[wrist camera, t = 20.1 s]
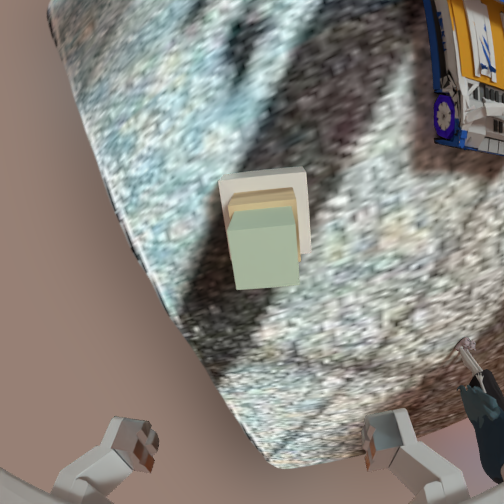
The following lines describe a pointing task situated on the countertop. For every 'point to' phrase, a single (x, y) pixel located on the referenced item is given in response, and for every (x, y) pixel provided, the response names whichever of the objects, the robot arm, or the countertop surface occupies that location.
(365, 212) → the countertop surface
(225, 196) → the pedestal
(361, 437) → the robot arm
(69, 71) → the countertop surface
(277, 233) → the green cube
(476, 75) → the toy car
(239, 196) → the oak block
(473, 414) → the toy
